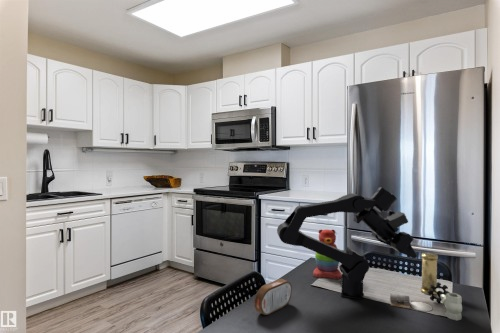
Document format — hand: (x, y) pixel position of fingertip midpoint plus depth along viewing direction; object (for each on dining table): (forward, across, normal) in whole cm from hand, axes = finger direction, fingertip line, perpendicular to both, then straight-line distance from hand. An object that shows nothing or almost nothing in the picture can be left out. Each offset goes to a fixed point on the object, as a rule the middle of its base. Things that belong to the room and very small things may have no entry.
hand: (408, 252), depth 107 cm
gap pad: (+9, -10, +11) cm, 17 cm away
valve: (+13, -13, +7) cm, 20 cm away
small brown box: (+4, -7, +15) cm, 17 cm away
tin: (-25, -10, +42) cm, 50 cm away
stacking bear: (-7, +20, +26) cm, 33 cm away
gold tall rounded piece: (+15, +1, +5) cm, 16 cm away
